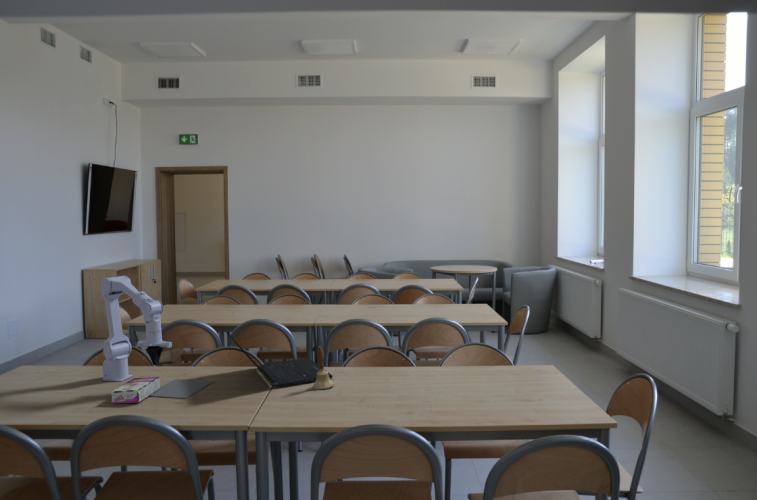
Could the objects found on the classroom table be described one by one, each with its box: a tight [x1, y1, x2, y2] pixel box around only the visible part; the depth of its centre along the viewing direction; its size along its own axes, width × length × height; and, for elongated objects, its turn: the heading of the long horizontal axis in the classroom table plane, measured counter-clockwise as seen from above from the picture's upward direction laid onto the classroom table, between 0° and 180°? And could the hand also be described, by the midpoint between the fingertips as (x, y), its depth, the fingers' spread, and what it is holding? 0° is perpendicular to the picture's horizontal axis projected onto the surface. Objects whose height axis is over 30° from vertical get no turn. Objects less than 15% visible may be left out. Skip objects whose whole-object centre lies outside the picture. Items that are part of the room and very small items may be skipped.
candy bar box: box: [109, 376, 162, 405], centre depth 207 cm, size 11×5×16 cm
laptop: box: [225, 330, 333, 388], centre depth 227 cm, size 33×38×19 cm
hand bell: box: [312, 345, 335, 390], centre depth 212 cm, size 8×8×16 cm
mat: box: [148, 378, 215, 400], centre depth 215 cm, size 18×20×1 cm
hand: (155, 364), depth 216 cm, fingers closed
